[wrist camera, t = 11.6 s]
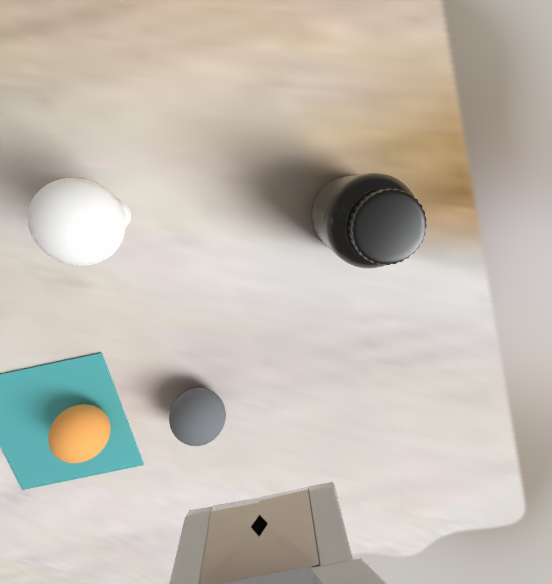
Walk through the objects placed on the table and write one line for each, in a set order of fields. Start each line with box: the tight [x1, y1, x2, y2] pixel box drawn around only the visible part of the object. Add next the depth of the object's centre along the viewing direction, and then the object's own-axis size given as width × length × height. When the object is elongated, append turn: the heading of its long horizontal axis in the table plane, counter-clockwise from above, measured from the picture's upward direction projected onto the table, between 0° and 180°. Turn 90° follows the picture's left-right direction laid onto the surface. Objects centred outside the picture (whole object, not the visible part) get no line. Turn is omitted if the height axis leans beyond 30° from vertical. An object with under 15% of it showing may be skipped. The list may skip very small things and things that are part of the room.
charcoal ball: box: [169, 388, 226, 446], centre depth 37 cm, size 6×6×6 cm
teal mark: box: [0, 353, 144, 490], centre depth 40 cm, size 14×14×1 cm
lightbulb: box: [28, 178, 131, 266], centre depth 29 cm, size 6×6×11 cm
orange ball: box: [48, 404, 111, 463], centre depth 37 cm, size 6×6×6 cm
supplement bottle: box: [312, 173, 426, 268], centre depth 29 cm, size 7×7×12 cm
